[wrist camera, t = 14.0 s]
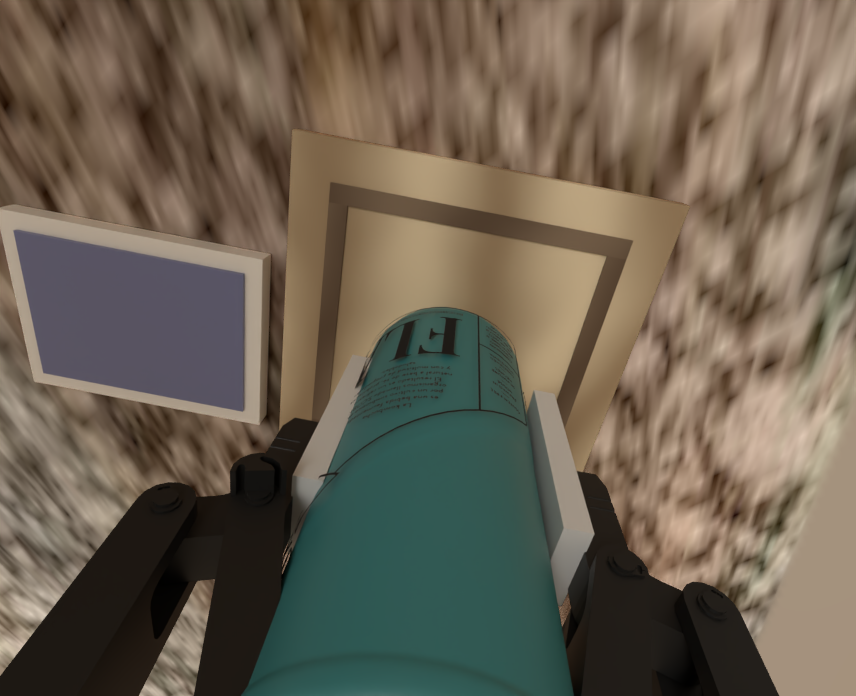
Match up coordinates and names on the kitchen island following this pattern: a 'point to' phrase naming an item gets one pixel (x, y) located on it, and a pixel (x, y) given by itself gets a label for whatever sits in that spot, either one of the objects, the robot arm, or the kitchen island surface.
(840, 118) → the kitchen island surface
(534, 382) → the mark board
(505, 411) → the beverage bottle
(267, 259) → the ink pad
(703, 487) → the kitchen island surface
